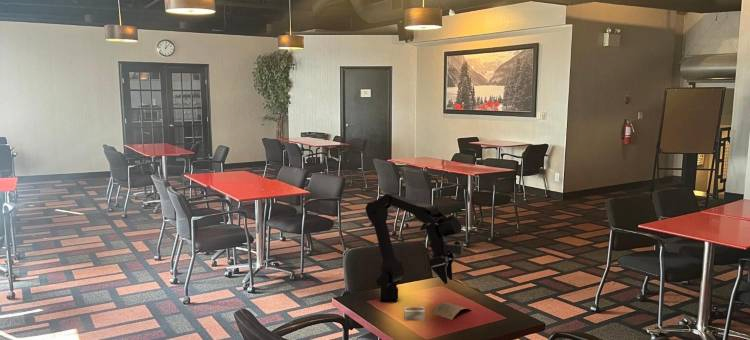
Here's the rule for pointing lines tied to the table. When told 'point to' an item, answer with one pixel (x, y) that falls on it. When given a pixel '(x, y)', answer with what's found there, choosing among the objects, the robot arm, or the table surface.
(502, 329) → the table surface
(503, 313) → the table surface
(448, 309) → the clay tablet
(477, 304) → the table surface
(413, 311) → the taped cardboard box
